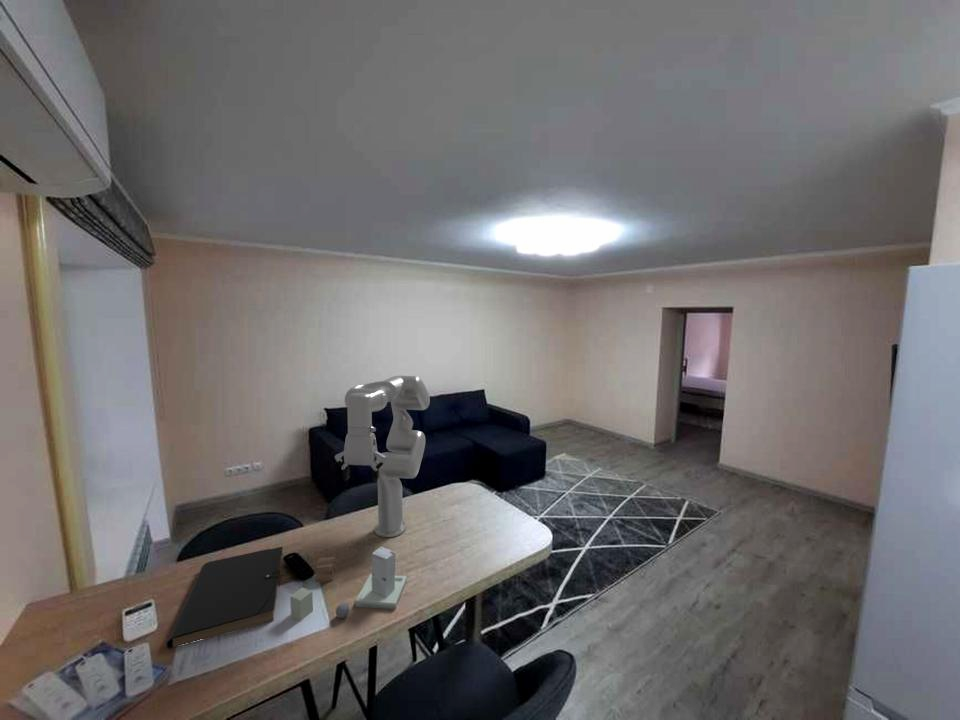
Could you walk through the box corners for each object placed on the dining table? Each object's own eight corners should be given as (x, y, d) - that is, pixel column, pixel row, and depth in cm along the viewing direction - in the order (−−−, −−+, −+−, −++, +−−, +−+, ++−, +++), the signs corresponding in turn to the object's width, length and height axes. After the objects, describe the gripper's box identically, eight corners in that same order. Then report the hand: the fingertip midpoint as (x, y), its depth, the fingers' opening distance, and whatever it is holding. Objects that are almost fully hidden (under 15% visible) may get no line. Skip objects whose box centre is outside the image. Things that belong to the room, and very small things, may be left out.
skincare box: (371, 590, 116) (370, 553, 115) (381, 582, 120) (380, 545, 118) (386, 598, 113) (385, 559, 112) (396, 588, 117) (395, 551, 116)
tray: (370, 579, 123) (370, 573, 122) (406, 581, 122) (406, 576, 121) (355, 606, 111) (355, 600, 110) (395, 609, 110) (395, 603, 110)
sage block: (303, 606, 110) (302, 587, 110) (313, 611, 109) (312, 591, 108) (291, 616, 107) (290, 596, 106) (301, 620, 105) (300, 600, 105)
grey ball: (339, 611, 109) (339, 599, 108) (351, 611, 108) (351, 600, 108) (333, 620, 105) (333, 608, 105) (346, 621, 105) (346, 609, 105)
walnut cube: (319, 572, 126) (319, 558, 125) (335, 571, 127) (335, 556, 126) (316, 582, 121) (315, 567, 120) (332, 580, 122) (332, 566, 121)
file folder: (274, 608, 105) (165, 637, 95) (275, 622, 105) (167, 652, 96) (283, 545, 135) (201, 562, 125) (283, 556, 135) (202, 574, 126)
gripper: (389, 428, 128) (389, 477, 129) (339, 426, 129) (340, 475, 131) (381, 434, 120) (382, 486, 122) (329, 432, 122) (330, 484, 123)
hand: (361, 480), depth 126 cm, fingers open, 9 cm apart
